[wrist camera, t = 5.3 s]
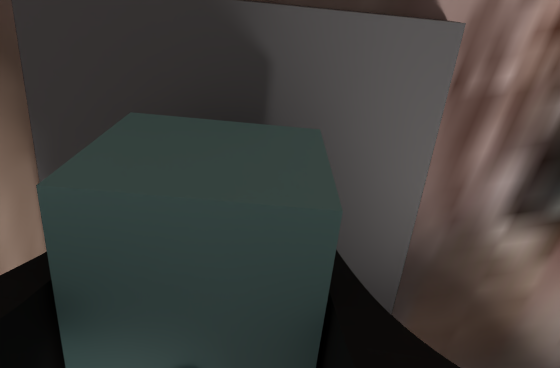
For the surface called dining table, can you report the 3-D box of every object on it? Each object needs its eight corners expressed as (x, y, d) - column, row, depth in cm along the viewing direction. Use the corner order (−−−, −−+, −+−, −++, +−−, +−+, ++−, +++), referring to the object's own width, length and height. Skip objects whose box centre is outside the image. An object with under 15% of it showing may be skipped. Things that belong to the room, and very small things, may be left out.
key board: (448, 20, 14) (524, 31, 10) (373, 332, 20) (400, 431, 16) (34, -21, 14) (-85, -29, 9) (78, 309, 20) (16, 404, 15)
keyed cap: (320, 129, 12) (344, 216, 7) (292, 336, 15) (296, 489, 11) (130, 112, 12) (30, 190, 7) (142, 325, 15) (78, 476, 10)
